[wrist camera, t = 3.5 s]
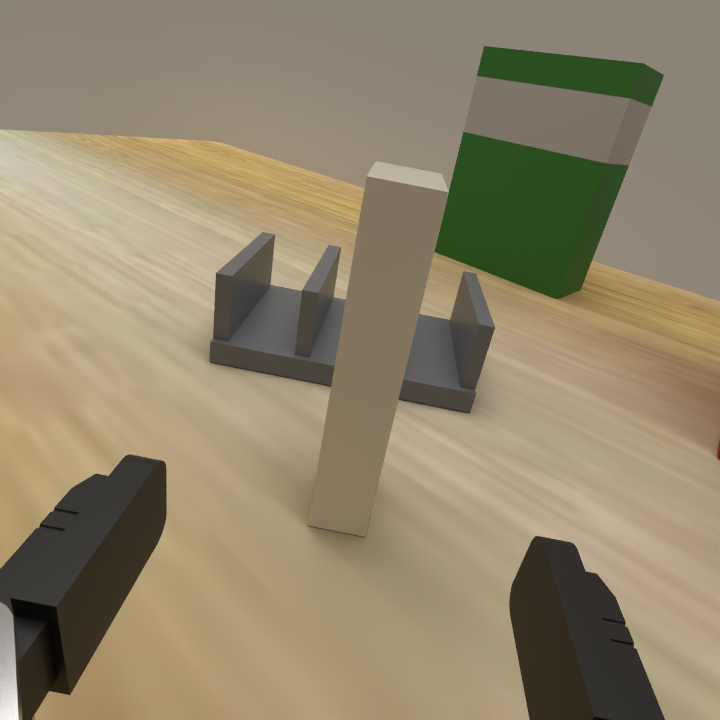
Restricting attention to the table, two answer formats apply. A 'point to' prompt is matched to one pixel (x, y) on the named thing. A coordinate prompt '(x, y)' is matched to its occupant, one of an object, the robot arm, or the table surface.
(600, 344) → the table surface
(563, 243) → the hardback book
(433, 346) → the drying rack
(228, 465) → the table surface
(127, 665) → the table surface
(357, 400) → the beige rectangular block
